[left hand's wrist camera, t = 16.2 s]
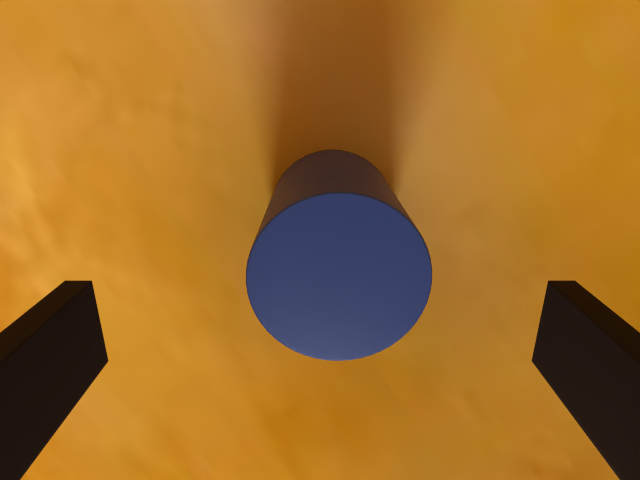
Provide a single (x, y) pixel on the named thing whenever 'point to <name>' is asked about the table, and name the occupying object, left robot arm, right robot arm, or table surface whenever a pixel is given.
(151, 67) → the table surface
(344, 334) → the can
